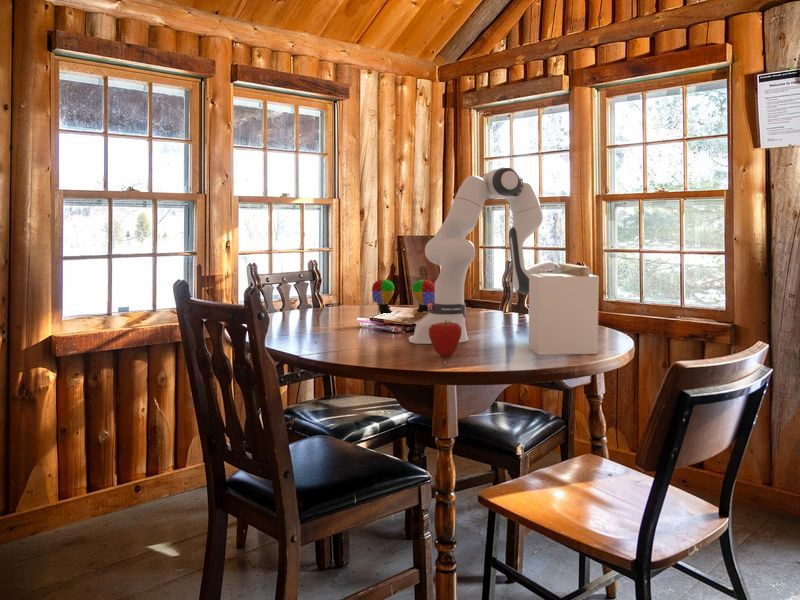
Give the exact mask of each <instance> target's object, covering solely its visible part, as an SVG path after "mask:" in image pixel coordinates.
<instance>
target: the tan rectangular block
mask: <svg viewBox="0 0 800 600" xmlns="http://www.w3.org/2000/svg"><path fill="white" fill-rule="evenodd" d="M558 266H562V272H561V273H566V274H570V275H574V276H579V277H581V276H589V269H590V268H591V267H589V266H584V265H579V264H572V263H558Z"/></svg>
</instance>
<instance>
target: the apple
mask: <svg viewBox="0 0 800 600" xmlns="http://www.w3.org/2000/svg"><path fill="white" fill-rule="evenodd" d="M429 337H430V339H431V342H432V344H431V345H432V347H433V349H434V352H435V353H437V354H438V355H439V356H440V357H445V358H447V357H451V356H453V355H454V353H455V352H456V350H457V347H458V345H459V340H460V337H461V327H460V326H459V324H457V323H452V322H446V321H445V323H437V324H433V325H432V326H431V327H430V328H429Z"/></svg>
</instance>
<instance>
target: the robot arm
mask: <svg viewBox="0 0 800 600" xmlns="http://www.w3.org/2000/svg"><path fill="white" fill-rule="evenodd" d="M499 199H505V200H506V201H507V203H508V205H509V207H510V210H511V214H512V225H511V228H510V229H509V231H508V244H509V252H510V254H509V255H510V261H511V271H512V273H511V278H512V279H511V280H512V286H513V288H514V290H515V291H516V292H517V293H519V294H521V295H529V274H540V273H553V274H566V273H561V272H562V266H559V264H557V263H555V262H554V261H552V260H549V259H548V260H544V261H540V262H537V263H536V264H532V265H530V266H527V267H525V258H524V252H523V246H524V243H525V241H526V240H527V239H528V238H529V237H530V236H531V235H532V234H533V233H535V232H536V231H537V230H538V229H539V228H540V227H541V224H542V223H543V220H544V217H543V216H544V215H543V210H542V207H541V204H540V199H539V198H538V195H537V192H536V191H535V188H534V185H532V183H531V182H530V181H526V180H524V179H523V178H522V177H521V176H520V174H519V173H518V171H517V170H515V169H514V168H513V167H508V166H506V167H500V168H496V169H492V170H490V171H489V172H487V173H485V174H483V175H481V177H480V176H478V175H470V176H469V175H468V176H467V177H466V178H465V179H464V180H463V181H462V183H461V185H460V187H459V188H458V190H457V192H456V194H455V197H454V199H453V203H452V204H451V207H450V209H449V211H448V214H447V216H446V218H445V220H444V222H443V223H442V225H441V226H440V227H439V229H438V230H437V232H436V233H435V234H434V237H432V238H431V239H430V240H428V242H427V243H426V244H425V246H424V247H425V248H424V255H425V258H426V259H427V260H428V261H429V262H430V263H432V264H434V265H436V266H440V271H439V275H438V277H437V279H436V280H435V281H434V285H435V301H434V303H429V305H428V308H429V309H428V313H427V315H426V317H424V318H423V319H422V320H421V321H419V322H418V323H417V324H416V325H415V328H414V332H413V335H410V336H409V337H408V342H410V343H412V344H417V345H420V344H421V345H422V344H423V345H424V344H425V345H427V344H428V345H432V342H431V339H430V337H429V328H430V327H431V326H432V325H433V324H437V323H445V321H446V322H452V323H457V324H459V326H460V327H461V337H460V340H459V343H465V342H468V341H469V337H468V334H467V328H466V319H465V318H466V314H467V313H466V312H467V311H466V310H467V309H466V303H465V284H466V283H465V281H466V277H467V273H468V269H469V267H470V265H471V263H472V262H473V261H474V259H475V257H476V247H475V245H474V243H473V242H472V241H471V240H468V239H467V238H466V237H467V236H468V235H469V234H470V233H471V232H473V230H475V227H476V225H477V222H478V220H479V217H480V216H481V215H480V214H481V212H482V210H483V208H484V205H485V202H486V200H491V201H493V200H499ZM589 274H590V275H594V274H593V271H592V269H590V268H589ZM459 343H458V344H459Z"/></svg>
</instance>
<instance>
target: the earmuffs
mask: <svg viewBox="0 0 800 600" xmlns="http://www.w3.org/2000/svg"><path fill="white" fill-rule="evenodd" d="M394 284H395V283H393V282H392V281H391V280H388V279H385V278H383V279H378V280H375V282H373V284H372V285H371V286H372V287H371V294H372V301H373V302H374V303H377V304H378V309H379V313H380V315H381V314H383V313H391V312H393V311H392V310H391V308H390V306H389V301H391V299H392V298H393V296H394V293H395V285H394ZM412 293H413V296H414V297H415V299H416V300H417V302H418V305H419V306H418V309H417V310H416V311H418V312H423V311H428V312H429V308H428V305H429V303H431V304H433V303H435V283H434V282H432V281H431V280H429V279H419V280H417V281H416V282H414V284H413V285H412Z"/></svg>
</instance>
